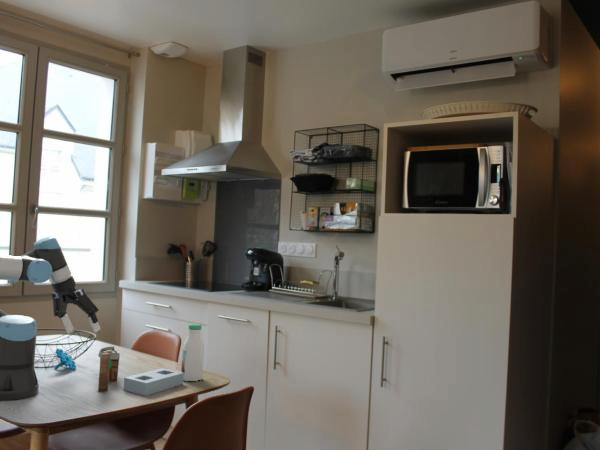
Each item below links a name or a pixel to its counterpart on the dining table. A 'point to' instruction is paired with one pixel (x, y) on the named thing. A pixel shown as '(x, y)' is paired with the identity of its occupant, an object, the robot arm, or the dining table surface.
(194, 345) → the milk bottle
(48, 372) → the dining table surface
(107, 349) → the food container
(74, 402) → the dining table surface
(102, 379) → the peg
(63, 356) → the gear
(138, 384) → the hole block
